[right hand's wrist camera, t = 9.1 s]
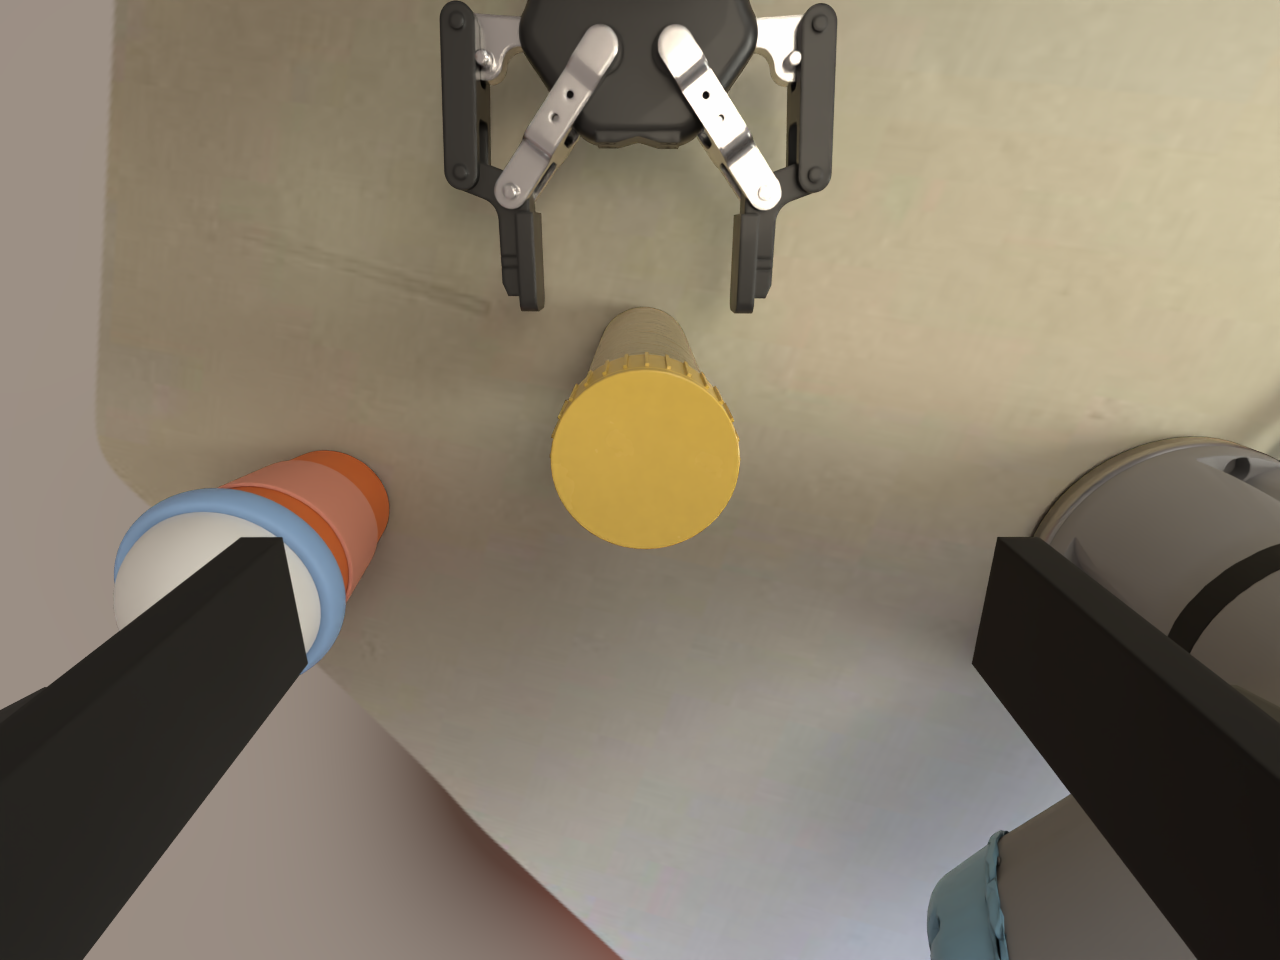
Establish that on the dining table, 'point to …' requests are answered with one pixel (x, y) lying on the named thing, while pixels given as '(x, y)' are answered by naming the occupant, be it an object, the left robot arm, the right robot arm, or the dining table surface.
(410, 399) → the dining table surface
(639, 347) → the metal bottle
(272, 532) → the cup with straw
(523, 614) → the dining table surface
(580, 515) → the lid
